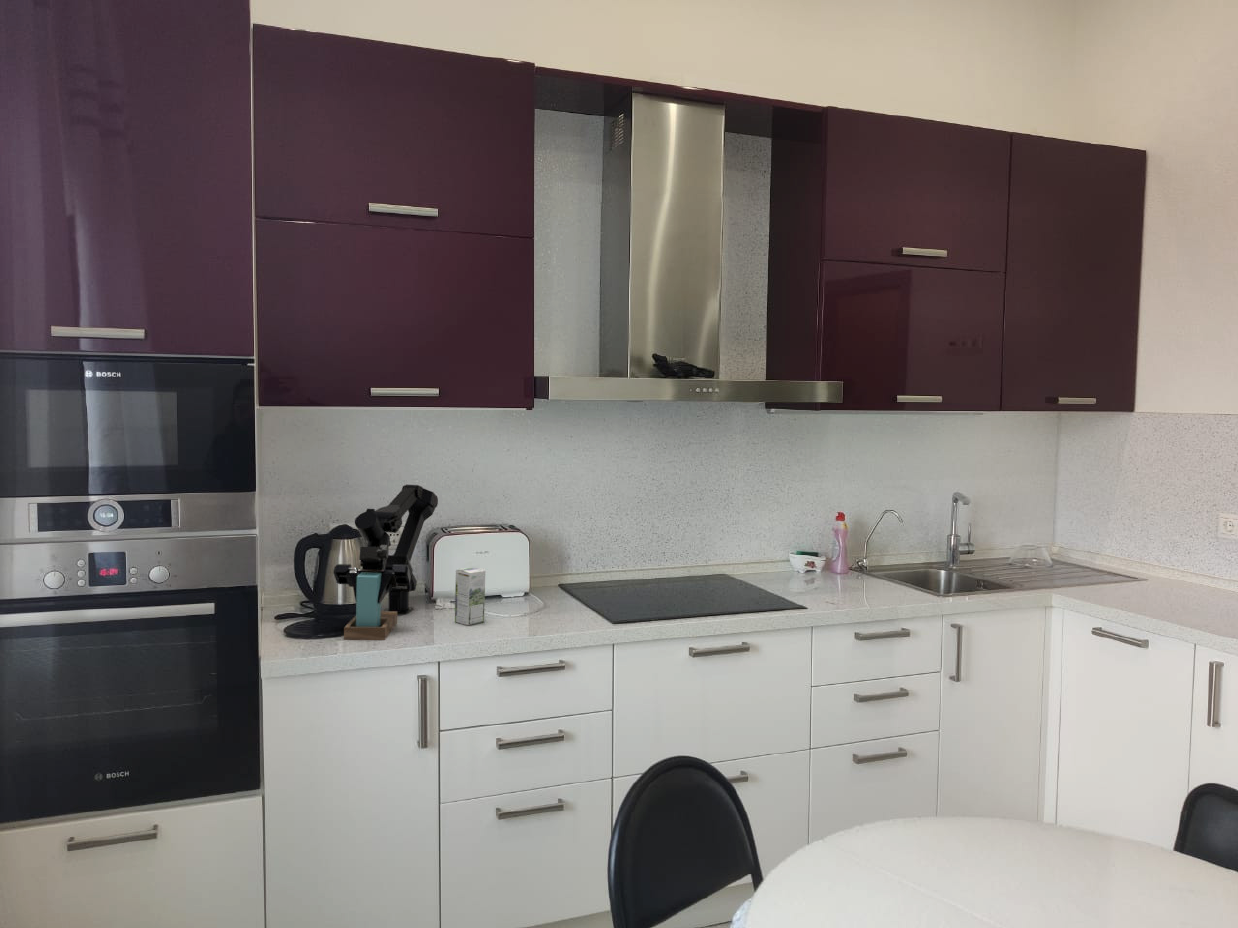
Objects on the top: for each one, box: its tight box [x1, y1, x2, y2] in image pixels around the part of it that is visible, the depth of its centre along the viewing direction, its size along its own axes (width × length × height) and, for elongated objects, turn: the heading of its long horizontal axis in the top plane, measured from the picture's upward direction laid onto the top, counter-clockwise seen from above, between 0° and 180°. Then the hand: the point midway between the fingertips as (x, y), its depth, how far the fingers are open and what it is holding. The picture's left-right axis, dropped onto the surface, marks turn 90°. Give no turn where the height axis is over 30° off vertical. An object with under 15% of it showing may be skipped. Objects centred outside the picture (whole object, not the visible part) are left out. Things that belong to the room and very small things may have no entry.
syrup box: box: [454, 566, 486, 626], centre depth 249 cm, size 6×6×14 cm
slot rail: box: [343, 610, 398, 641], centre depth 239 cm, size 17×10×3 cm, turn 3°
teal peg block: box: [355, 572, 382, 627], centre depth 235 cm, size 5×5×14 cm
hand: (367, 602), depth 234 cm, fingers closed on teal peg block, 5 cm apart
